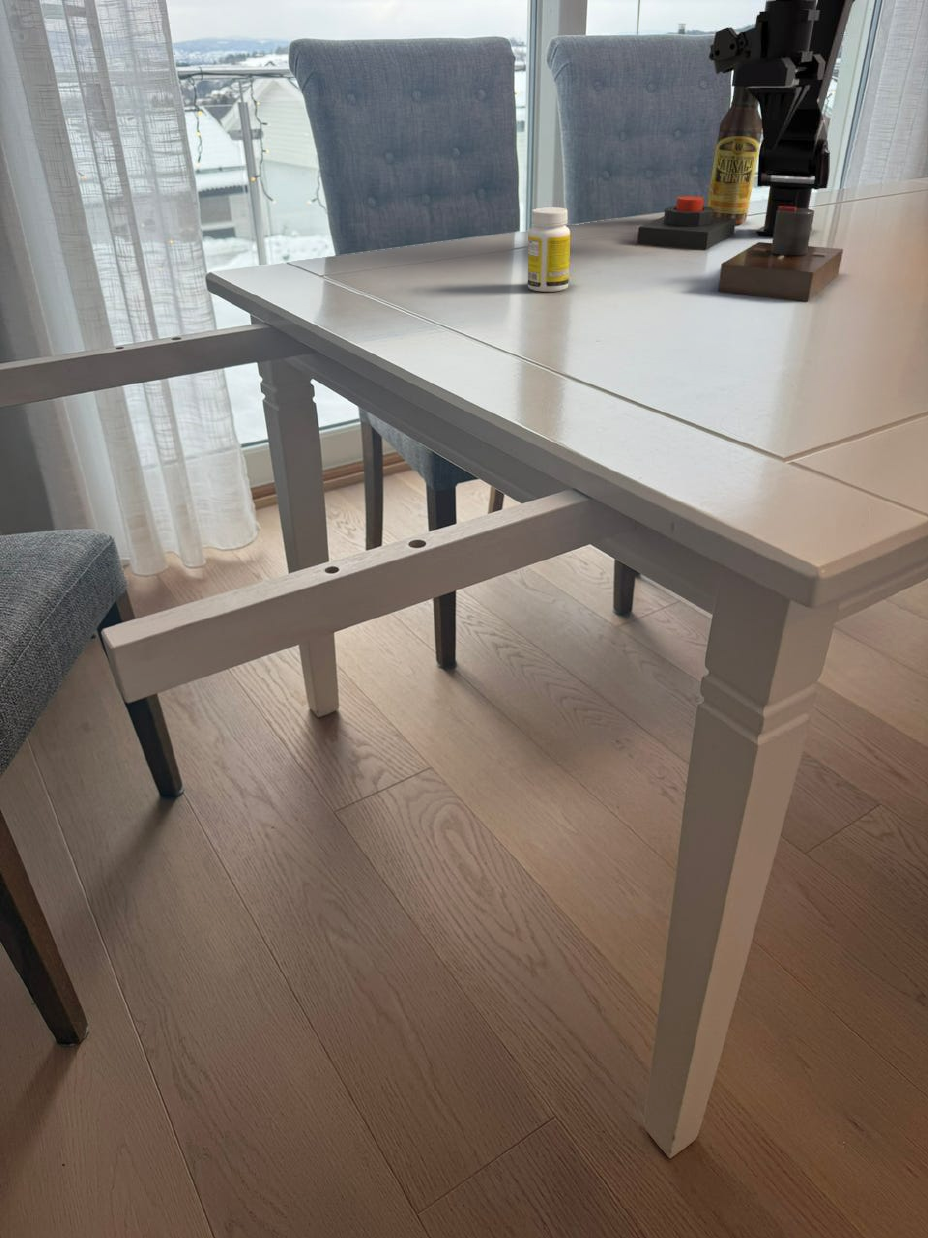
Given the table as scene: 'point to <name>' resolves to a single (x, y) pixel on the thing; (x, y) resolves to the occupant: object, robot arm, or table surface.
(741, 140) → the sauce bottle
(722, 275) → the knob panel
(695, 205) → the button
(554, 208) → the supplement bottle
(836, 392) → the table surface
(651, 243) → the button box
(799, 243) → the knob
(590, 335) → the table surface
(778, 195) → the robot arm
